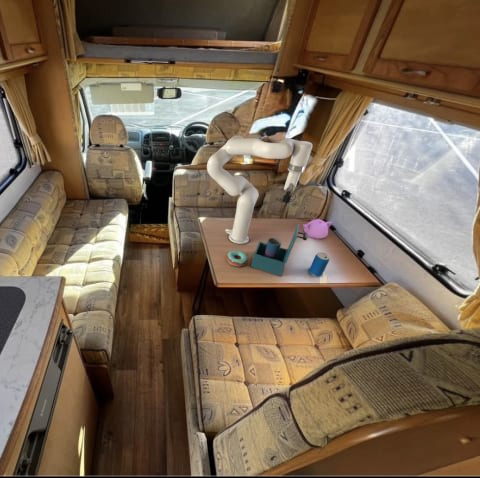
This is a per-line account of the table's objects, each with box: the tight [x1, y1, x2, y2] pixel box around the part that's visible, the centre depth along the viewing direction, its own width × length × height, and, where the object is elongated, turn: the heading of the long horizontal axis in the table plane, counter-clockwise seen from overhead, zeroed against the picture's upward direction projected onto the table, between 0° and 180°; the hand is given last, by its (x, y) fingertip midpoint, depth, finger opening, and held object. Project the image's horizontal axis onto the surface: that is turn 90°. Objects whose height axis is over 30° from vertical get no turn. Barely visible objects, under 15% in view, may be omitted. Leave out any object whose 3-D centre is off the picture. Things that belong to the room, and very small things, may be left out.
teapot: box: [302, 218, 333, 240], centre depth 169 cm, size 14×20×11 cm
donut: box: [226, 249, 249, 268], centre depth 147 cm, size 12×12×4 cm
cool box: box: [250, 241, 288, 277], centre depth 144 cm, size 16×14×9 cm
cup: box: [264, 237, 283, 260], centre depth 141 cm, size 7×7×15 cm
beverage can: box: [308, 252, 330, 277], centre depth 137 cm, size 6×6×12 cm
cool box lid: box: [285, 223, 308, 264], centre depth 132 cm, size 16×14×6 cm
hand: (286, 198), depth 140 cm, fingers open, 9 cm apart
